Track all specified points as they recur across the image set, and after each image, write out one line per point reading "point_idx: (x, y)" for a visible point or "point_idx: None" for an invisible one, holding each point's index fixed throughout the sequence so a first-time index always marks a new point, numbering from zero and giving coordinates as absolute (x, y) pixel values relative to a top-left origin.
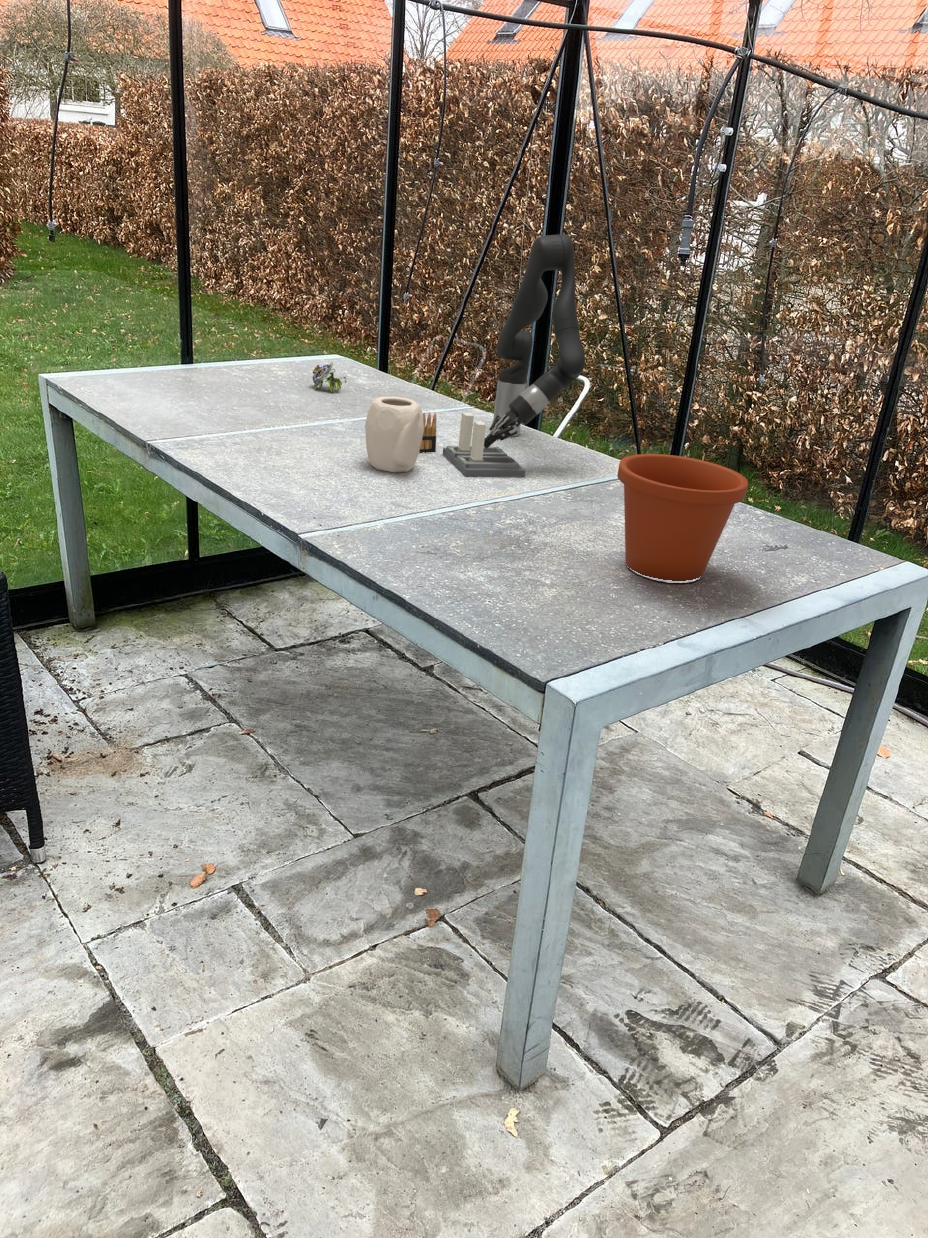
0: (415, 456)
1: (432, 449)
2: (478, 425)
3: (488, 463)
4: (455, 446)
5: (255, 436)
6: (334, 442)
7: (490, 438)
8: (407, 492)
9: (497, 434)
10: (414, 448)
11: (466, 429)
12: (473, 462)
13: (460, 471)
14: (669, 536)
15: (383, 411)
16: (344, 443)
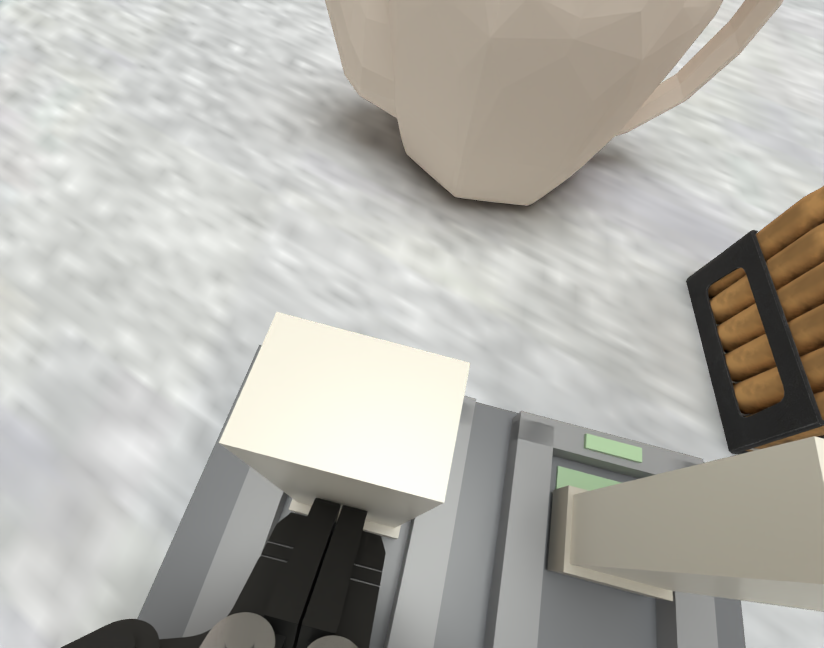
0: (424, 131)
1: (739, 426)
2: (278, 324)
3: (238, 530)
4: None
5: (807, 3)
6: (800, 131)
7: (263, 584)
8: (192, 56)
9: (95, 633)
10: (326, 2)
11: (673, 496)
12: None
13: None
14: None
15: None
16: (796, 151)
